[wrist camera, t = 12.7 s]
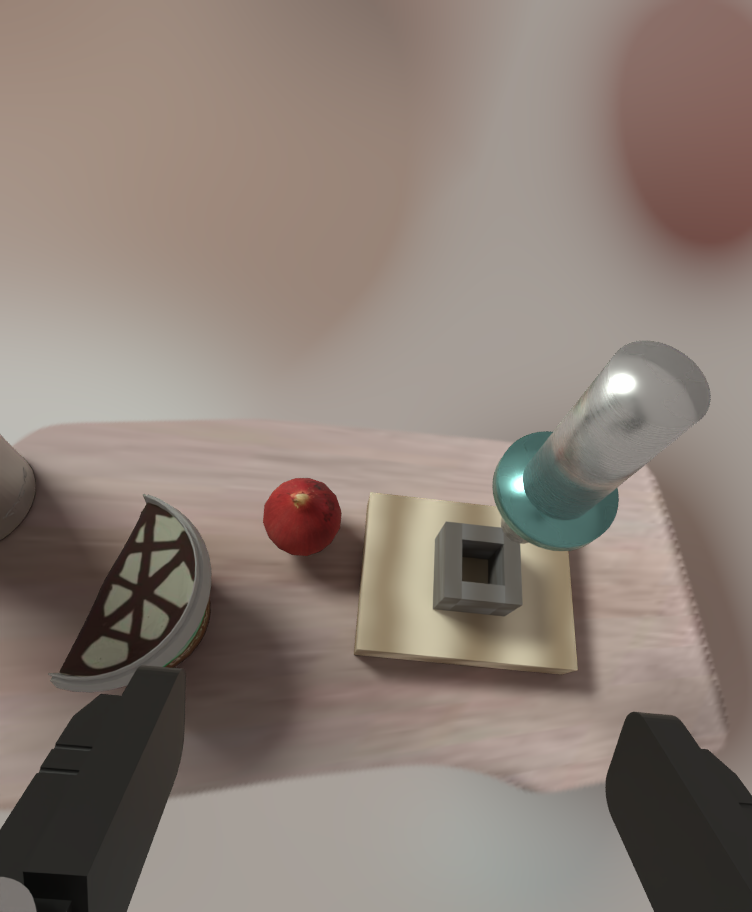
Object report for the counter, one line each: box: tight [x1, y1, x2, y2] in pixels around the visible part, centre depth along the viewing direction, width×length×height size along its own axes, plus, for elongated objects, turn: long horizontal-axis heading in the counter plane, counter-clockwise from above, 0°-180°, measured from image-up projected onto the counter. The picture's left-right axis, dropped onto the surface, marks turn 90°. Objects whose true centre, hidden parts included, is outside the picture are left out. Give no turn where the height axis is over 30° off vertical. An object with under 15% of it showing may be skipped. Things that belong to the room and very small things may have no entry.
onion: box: [263, 478, 341, 556], centre depth 43 cm, size 6×6×8 cm
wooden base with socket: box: [354, 492, 578, 675], centre depth 43 cm, size 16×12×7 cm
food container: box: [48, 494, 211, 692], centre depth 38 cm, size 12×6×10 cm, turn 163°
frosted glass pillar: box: [493, 341, 710, 551], centre depth 26 cm, size 6×6×15 cm
